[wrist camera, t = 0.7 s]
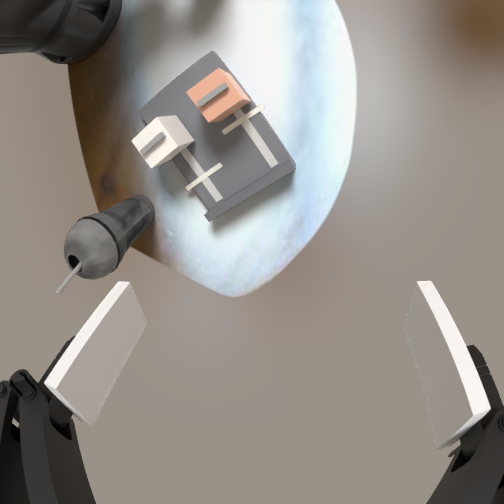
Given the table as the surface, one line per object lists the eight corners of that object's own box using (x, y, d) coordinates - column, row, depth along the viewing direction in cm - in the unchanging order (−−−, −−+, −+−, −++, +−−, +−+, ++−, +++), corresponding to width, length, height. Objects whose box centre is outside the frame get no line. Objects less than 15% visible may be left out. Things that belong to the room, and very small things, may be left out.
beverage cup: (127, 177, 35) (21, 241, 18) (169, 198, 36) (75, 279, 19) (117, 219, 39) (28, 294, 22) (155, 240, 40) (77, 330, 22)
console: (139, 115, 31) (125, 117, 28) (221, 49, 26) (213, 43, 23) (211, 214, 36) (204, 225, 33) (301, 160, 31) (301, 165, 28)
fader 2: (202, 94, 27) (183, 91, 22) (230, 74, 26) (217, 66, 21) (221, 120, 28) (206, 123, 24) (250, 101, 27) (241, 98, 22)
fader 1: (152, 135, 30) (128, 141, 25) (176, 115, 29) (154, 117, 24) (170, 159, 31) (148, 170, 27) (194, 140, 30) (175, 147, 25)
